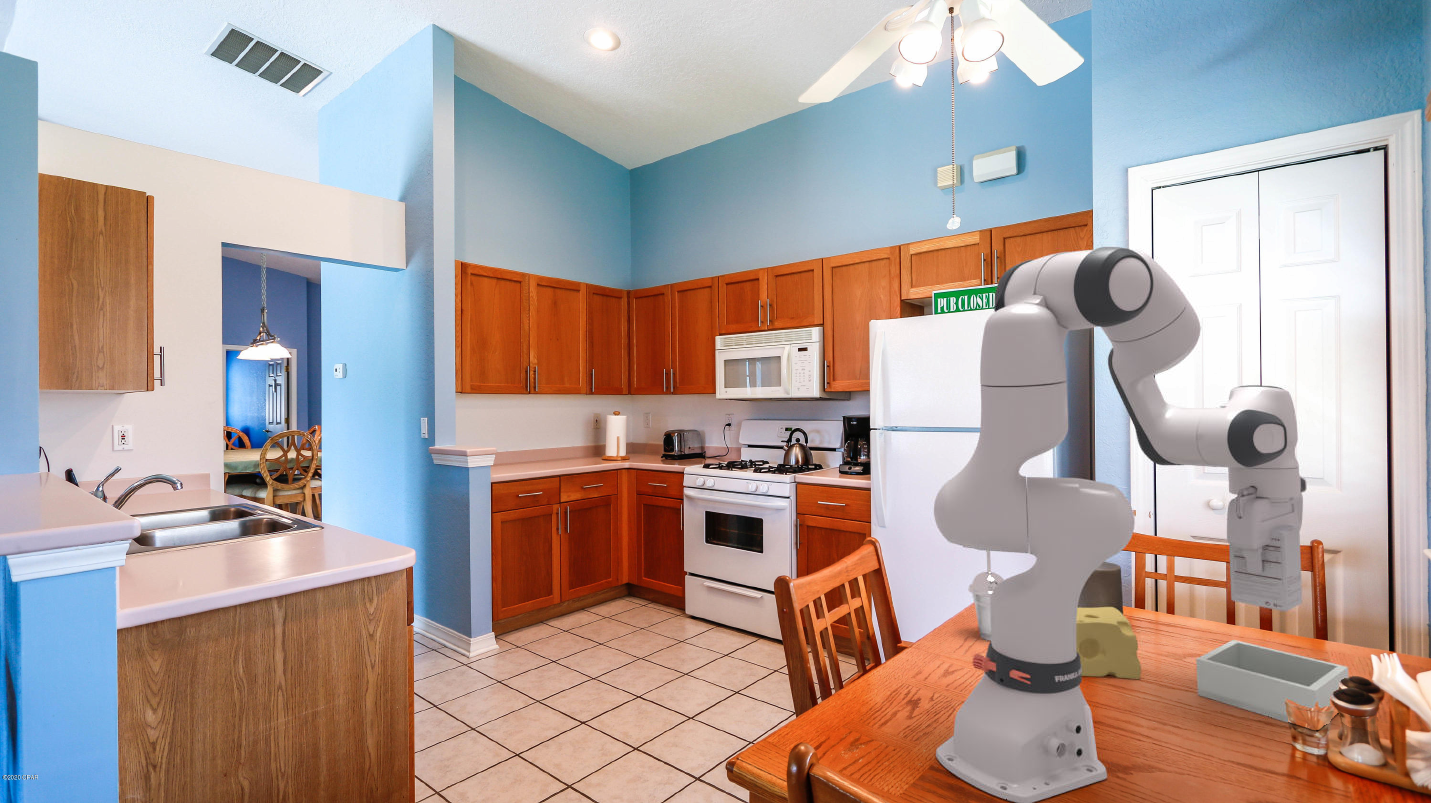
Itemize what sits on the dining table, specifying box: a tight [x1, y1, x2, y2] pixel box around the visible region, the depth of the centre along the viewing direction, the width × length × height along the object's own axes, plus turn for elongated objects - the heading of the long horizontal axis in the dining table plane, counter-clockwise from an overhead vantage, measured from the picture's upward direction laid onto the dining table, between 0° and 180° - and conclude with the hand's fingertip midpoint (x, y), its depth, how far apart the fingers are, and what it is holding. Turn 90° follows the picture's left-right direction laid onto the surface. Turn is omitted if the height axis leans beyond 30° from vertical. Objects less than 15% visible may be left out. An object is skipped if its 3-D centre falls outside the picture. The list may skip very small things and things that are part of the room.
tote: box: [1195, 639, 1349, 724], centre depth 103 cm, size 15×15×6 cm
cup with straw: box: [962, 546, 1005, 642], centre depth 135 cm, size 8×9×20 cm
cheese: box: [1076, 607, 1142, 680], centre depth 118 cm, size 10×11×10 cm
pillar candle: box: [1077, 561, 1124, 615], centre depth 139 cm, size 10×10×15 cm
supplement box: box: [1229, 525, 1303, 612], centre depth 104 cm, size 7×7×13 cm
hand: (1266, 567), depth 103 cm, fingers closed on supplement box, 7 cm apart
